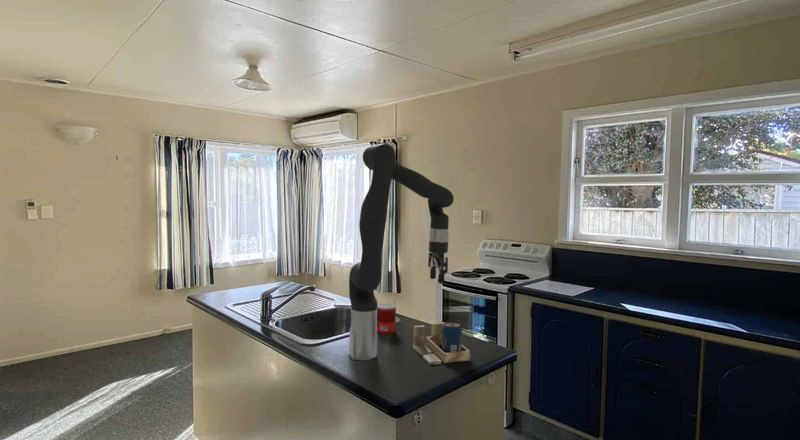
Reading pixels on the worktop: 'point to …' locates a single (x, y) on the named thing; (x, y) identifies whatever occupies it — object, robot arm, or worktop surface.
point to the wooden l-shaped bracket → (423, 346)
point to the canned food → (386, 318)
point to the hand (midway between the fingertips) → (436, 281)
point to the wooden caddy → (436, 340)
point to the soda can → (451, 337)
